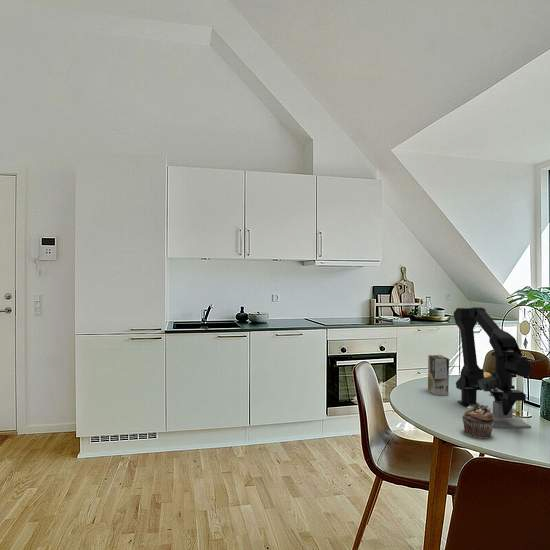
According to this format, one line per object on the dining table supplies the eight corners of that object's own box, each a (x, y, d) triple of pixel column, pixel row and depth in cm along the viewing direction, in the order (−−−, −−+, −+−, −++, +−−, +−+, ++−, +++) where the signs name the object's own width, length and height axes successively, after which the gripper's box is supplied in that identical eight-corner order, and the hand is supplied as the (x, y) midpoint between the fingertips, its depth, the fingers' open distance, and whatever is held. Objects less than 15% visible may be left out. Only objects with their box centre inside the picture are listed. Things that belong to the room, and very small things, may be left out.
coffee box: (449, 395, 188) (449, 358, 188) (434, 395, 188) (434, 358, 188) (441, 389, 197) (442, 354, 197) (427, 389, 197) (427, 354, 197)
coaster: (476, 415, 162) (476, 413, 162) (510, 415, 162) (510, 413, 162) (493, 427, 149) (494, 425, 149) (531, 428, 149) (531, 425, 149)
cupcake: (497, 433, 144) (497, 403, 144) (488, 441, 137) (489, 410, 137) (467, 426, 150) (467, 397, 150) (457, 433, 143) (458, 403, 143)
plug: (492, 414, 157) (492, 400, 157) (511, 414, 158) (511, 401, 158) (497, 417, 154) (498, 403, 154) (517, 418, 154) (517, 404, 154)
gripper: (469, 364, 165) (468, 404, 165) (494, 376, 146) (493, 422, 146) (498, 364, 165) (497, 405, 165) (527, 376, 146) (526, 422, 146)
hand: (502, 413), depth 156 cm, fingers closed on plug, 4 cm apart
